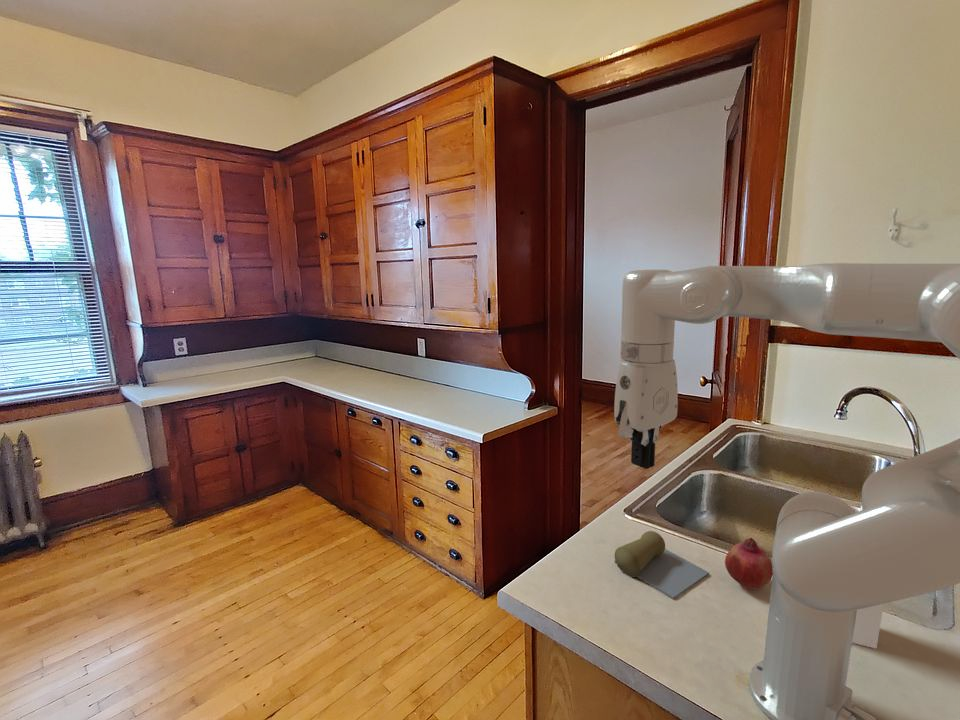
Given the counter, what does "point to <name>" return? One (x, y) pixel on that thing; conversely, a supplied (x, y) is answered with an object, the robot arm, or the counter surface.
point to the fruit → (749, 564)
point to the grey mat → (671, 574)
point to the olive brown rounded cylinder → (639, 553)
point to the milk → (867, 625)
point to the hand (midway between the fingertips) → (642, 464)
